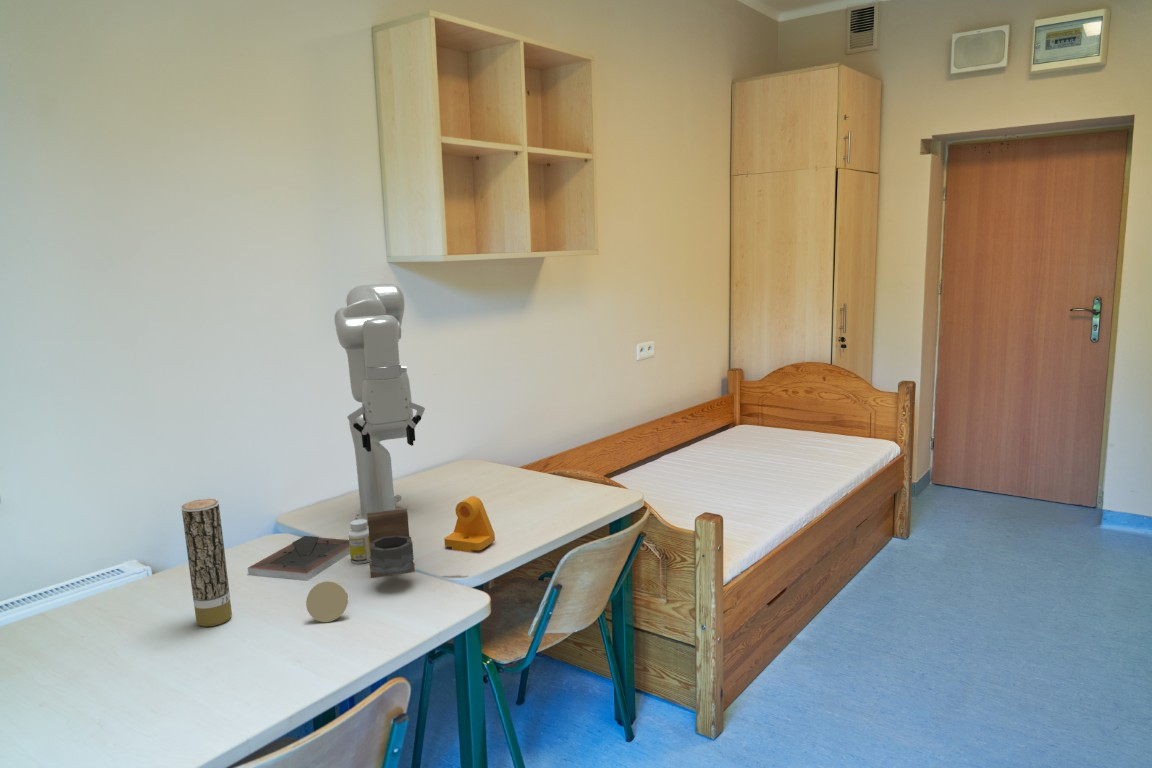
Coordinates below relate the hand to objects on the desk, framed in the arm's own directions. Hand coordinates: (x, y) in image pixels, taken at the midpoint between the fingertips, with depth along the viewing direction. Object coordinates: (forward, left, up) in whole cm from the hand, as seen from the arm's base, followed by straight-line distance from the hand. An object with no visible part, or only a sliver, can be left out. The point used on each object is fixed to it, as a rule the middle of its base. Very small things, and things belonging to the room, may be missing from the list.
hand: (389, 447), depth 183 cm
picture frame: (-1, -27, -30) cm, 40 cm away
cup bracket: (+5, +1, -30) cm, 30 cm away
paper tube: (+32, -25, -30) cm, 50 cm away
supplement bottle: (-4, -13, -30) cm, 33 cm away
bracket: (-18, +9, -30) cm, 36 cm away
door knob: (+23, -3, -30) cm, 38 cm away
